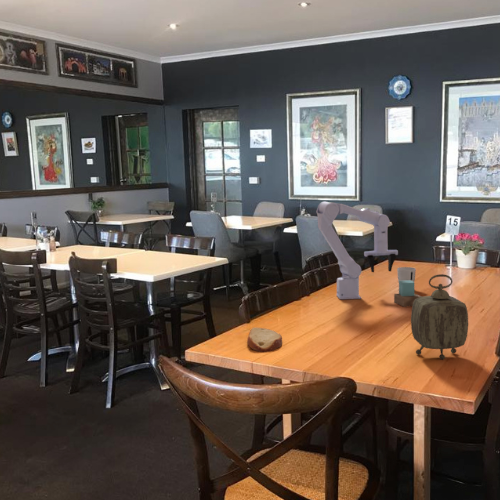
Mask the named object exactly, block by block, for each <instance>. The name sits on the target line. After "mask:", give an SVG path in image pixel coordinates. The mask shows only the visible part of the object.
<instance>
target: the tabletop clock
mask: <svg viewBox="0 0 500 500" xmlns="http://www.w3.org/2000/svg"><path fill="white" fill-rule="evenodd" d="M440 277H443V278H447V279H449V280H450V283H449V284H446V285H443V284H442V283H439V284H438V286H435V285H432V283H431V282H432V280H433V279H435V278H440ZM428 284H429V286H430V287H431V288H433V289H435V290H434V291H433V292H432V293H431V295H424V296H422V297H419V298H417V299H415V300H414V303H413V306H411V314H410V325H411V326H410V328H411V334H412V336H413V339H414V341H416V342H417V343H418V344H419V345H420V348H419V349H416V350H415V354H416V355H418V356H419V355H421V354H422V350H423V349H424V348H426V349H429V350H430V349H431V350H440V355H438V356H439V360H442V361H443V360H445V359H446V356H445V355H444V350H448V349H450V353H452V354H456V353H457V348H460V347H462V346H465V343H466V341H467V338H468V333H469V312H468V307H467V305H466V303H465V302H463V301H462V300H459V299H457V298H456V297H453V296H450V294H449V292H448V291H446V290H445V289H447V288H449V287H451V286H452V285H453V278H452V277H451V276H449V274H448V275H447V274H444V273H443V274H435V275H432V276H431V277H430V278H429V280H428Z"/></svg>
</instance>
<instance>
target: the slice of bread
mask: <svg viewBox="0 0 500 500" xmlns="http://www.w3.org/2000/svg"><path fill="white" fill-rule="evenodd" d="M246 341H247V342H246V344H247V345H248V347H249V348H251V349H252V350H253V351H256V352H260V353H267V352H273V351H274V350H276V349H279V348H280V347H282V345H283V337H282V334H281V333H278V332H277V331H276V330H272V329H269V328H265V327H257V326H256V327H252V328H250V330H249V332H248V335H247V340H246Z"/></svg>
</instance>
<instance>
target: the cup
mask: <svg viewBox="0 0 500 500" xmlns="http://www.w3.org/2000/svg"><path fill="white" fill-rule="evenodd" d="M396 269H397V282H398V283H399V281H405V280H411V281H413V282H414V283H415V281H416V267H410V266H409V267H407V266H403V267H402V266H401V267H398V268H396Z"/></svg>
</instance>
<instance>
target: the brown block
mask: <svg viewBox="0 0 500 500" xmlns="http://www.w3.org/2000/svg"><path fill="white" fill-rule="evenodd" d="M393 297H394V298H393V300H394V302H393V303H394V304H397V305H399V306H401V307H402V308H405V307H406V308H407V306H408V307H412V306H413V303H414V300H415V299H417V298H419V297H423V296H421V295H419V294H417V293H414V296H401V295H400V294H399V293H394V294H393Z"/></svg>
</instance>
